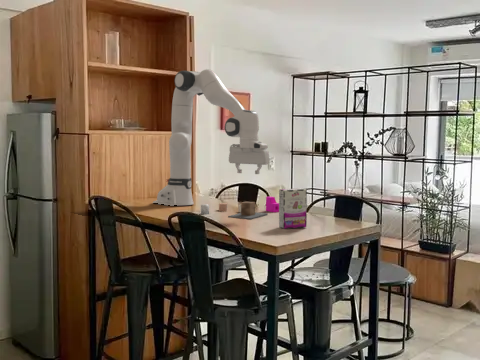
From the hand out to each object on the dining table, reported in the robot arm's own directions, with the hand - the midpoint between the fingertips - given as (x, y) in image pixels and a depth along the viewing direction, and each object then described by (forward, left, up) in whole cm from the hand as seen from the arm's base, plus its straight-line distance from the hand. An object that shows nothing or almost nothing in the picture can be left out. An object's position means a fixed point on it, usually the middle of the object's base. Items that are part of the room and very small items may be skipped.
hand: (248, 173), depth 259 cm
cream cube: (-8, +11, -21) cm, 25 cm away
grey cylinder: (-20, -7, -21) cm, 29 cm away
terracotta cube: (-19, +9, -21) cm, 30 cm away
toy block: (+5, +28, -21) cm, 35 cm away
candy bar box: (+30, -17, -21) cm, 40 cm away
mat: (0, 0, -21) cm, 21 cm away
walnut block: (0, 0, -20) cm, 20 cm away
